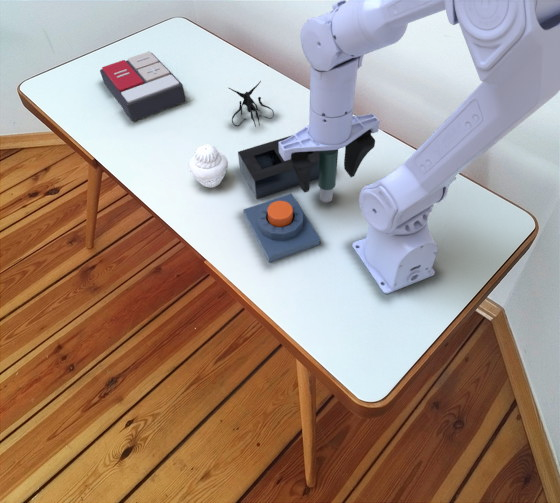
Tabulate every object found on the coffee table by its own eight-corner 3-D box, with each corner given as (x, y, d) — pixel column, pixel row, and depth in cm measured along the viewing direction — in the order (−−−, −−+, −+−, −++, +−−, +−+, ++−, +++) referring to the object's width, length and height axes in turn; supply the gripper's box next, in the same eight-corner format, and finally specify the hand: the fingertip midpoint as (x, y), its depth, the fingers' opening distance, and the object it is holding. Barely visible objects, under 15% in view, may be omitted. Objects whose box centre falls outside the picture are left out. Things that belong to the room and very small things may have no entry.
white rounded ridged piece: (185, 178, 84) (177, 144, 79) (218, 162, 86) (212, 129, 81) (204, 200, 81) (197, 167, 75) (237, 183, 83) (233, 150, 78)
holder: (329, 175, 84) (330, 156, 80) (256, 199, 81) (254, 181, 78) (310, 148, 88) (310, 129, 85) (239, 170, 85) (237, 151, 82)
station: (319, 244, 75) (320, 231, 72) (269, 263, 73) (268, 250, 71) (291, 199, 81) (291, 185, 78) (243, 215, 79) (242, 201, 76)
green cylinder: (337, 201, 80) (341, 151, 72) (322, 206, 79) (324, 156, 72) (329, 190, 82) (333, 140, 74) (314, 195, 81) (316, 145, 73)
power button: (296, 222, 74) (296, 214, 73) (273, 230, 73) (273, 222, 72) (286, 205, 76) (286, 197, 75) (264, 213, 75) (263, 205, 74)
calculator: (150, 48, 102) (182, 80, 94) (155, 68, 105) (187, 101, 97) (97, 65, 99) (125, 101, 90) (104, 86, 102) (132, 122, 93)
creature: (278, 127, 93) (265, 95, 96) (279, 107, 88) (265, 73, 92) (236, 137, 92) (224, 104, 95) (235, 117, 87) (222, 83, 90)
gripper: (365, 74, 71) (356, 150, 81) (268, 101, 67) (272, 177, 78) (392, 102, 67) (379, 178, 77) (290, 133, 63) (291, 208, 74)
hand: (326, 180), depth 78 cm, fingers open, 7 cm apart
